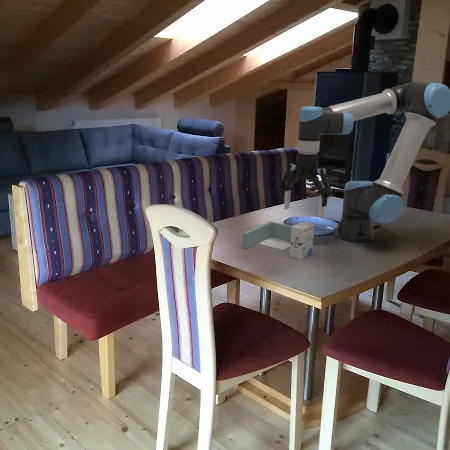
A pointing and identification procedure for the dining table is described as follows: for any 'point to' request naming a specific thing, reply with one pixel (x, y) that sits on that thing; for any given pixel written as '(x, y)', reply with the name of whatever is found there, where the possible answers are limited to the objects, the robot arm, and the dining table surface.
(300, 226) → the ink box
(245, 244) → the teal angle bracket
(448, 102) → the robot arm
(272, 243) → the pad
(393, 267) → the dining table surface
